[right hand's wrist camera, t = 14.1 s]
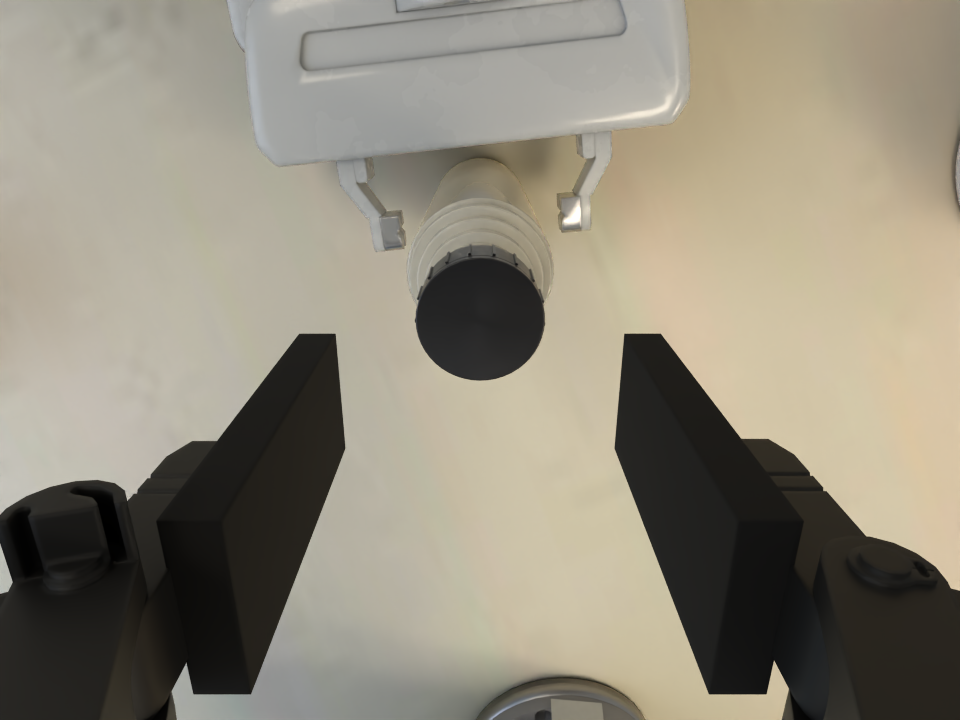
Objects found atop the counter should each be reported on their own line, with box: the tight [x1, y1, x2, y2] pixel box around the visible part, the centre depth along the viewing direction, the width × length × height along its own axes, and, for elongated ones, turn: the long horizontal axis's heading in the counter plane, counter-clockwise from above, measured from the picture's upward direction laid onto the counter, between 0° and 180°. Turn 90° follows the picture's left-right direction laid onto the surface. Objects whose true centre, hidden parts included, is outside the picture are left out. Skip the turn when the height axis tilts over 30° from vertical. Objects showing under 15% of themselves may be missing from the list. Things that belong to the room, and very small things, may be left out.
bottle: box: [407, 158, 554, 306], centre depth 29 cm, size 5×5×22 cm
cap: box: [415, 244, 545, 380], centre depth 19 cm, size 4×4×2 cm
